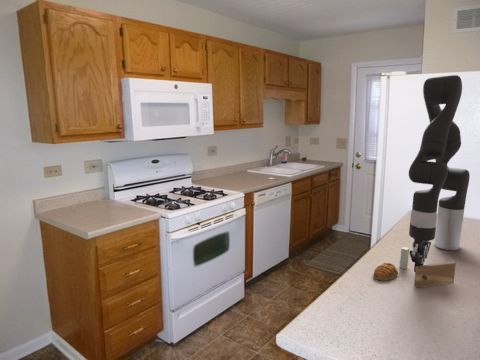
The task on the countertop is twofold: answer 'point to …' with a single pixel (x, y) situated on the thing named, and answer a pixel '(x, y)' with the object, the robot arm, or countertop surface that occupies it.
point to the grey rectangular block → (405, 259)
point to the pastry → (385, 272)
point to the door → (434, 274)
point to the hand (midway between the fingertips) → (418, 272)
